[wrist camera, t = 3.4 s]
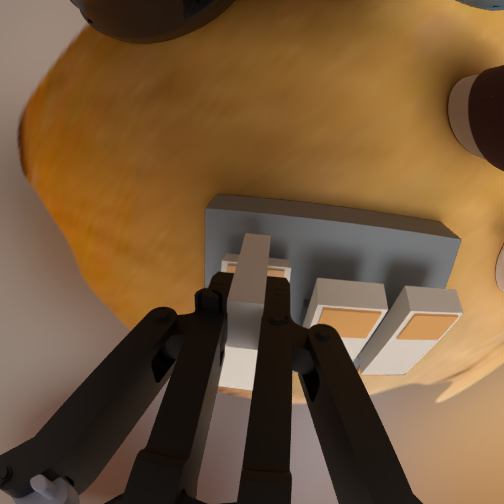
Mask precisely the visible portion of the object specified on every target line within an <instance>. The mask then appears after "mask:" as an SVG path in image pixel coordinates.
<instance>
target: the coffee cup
mask: <svg viewBox="0 0 504 504" xmlns="http://www.w3.org/2000/svg"><path fill="white" fill-rule="evenodd" d="M448 116H449V121H450V125H451V128H452V130H453V133H454V134H455V136H456V138H457V140H458V141H459V142H460V144H461V145H462V146H463V147H464V148H465V149H466V150H468V151H469V152H471V153H472V154H475V155H477V156H479V157H481V158H483V159H486V160H487V161H488V162H489V163H491V164H492V165H493V166H495V167H496V168H498V169H500V170H502V171H504V65H503V66H499V67H494V68H490V69H487V70H485V71H483V72H482V73H480V74H476V75H472V76H468V77H465V78H463V79H461V80H460V81H458V82H457V83H456V85H455V86H454V87H453V89H452V91H451V93H450V97H449V102H448Z"/></svg>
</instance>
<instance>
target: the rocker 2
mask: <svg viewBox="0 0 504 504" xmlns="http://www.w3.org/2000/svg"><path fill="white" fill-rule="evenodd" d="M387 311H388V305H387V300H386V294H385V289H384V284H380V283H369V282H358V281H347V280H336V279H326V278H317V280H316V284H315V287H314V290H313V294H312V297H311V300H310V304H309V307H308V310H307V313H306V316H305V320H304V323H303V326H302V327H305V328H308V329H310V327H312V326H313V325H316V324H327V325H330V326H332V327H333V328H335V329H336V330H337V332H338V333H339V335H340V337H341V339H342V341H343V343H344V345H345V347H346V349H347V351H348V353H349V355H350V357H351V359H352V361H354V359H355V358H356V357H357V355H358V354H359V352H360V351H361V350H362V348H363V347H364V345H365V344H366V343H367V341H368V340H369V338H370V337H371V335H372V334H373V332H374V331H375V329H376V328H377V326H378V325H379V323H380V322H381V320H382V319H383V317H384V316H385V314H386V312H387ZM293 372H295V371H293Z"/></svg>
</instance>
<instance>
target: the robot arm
mask: <svg viewBox="0 0 504 504" xmlns="http://www.w3.org/2000/svg"><path fill="white" fill-rule="evenodd" d="M70 1H71V2H72V3H73V4H74V5H75V6H76V7H78V8H79V9H80V12H81V14H82V15H83V17H84V18H85V20H86V21H87V22H88V23H89V24H90V25H91V26H92V27H93V28H95V29H96V30H97V31H99V32H101V33H103V34H105V35H107V36H110V37H113V38H116V39H119V40H122V41H125V42H130V43H155V42H161V41H166V40H170V39H174V38H177V37H180V36H182V35H185V34H188V33H190V32H192V31H194V30H196V29H198V28H200V27H202V26H204V25H205V24H207V23H209V22H210V21H212V20H213V19H215V18H216V17H217V16H219V15H220V14H221V13H222V12H224V11H225V10H226V9H227V8H228V7H229V6H230V5H231V4H232V3H233V2H234V1H235V0H70ZM456 1H458V2H460V3H463V4H466V5H469V6H471V7H475V8H480V9H484V10H491V11H496V10H504V0H456ZM270 239H271V236H270V235H260V234H250V233H245V237H244V241H243V244H242V248H241V251H240V255H239V259H238V262H237V266H236V269H235V273H229V272H219V271H218V272H217V273H216V274H214V275H213V276H212V278H211V281H210V284H209V286H208V288H204V289H201V290H199V291H197V292H196V294H195V312H193V313H190V314H184V315H177V313H176V312H175V310H173V309H171V308H169V307H158V308H155V309H153V310H151V311H150V312H149V313H148V314H147V315H146V316H145V317H144V318H143V319H142V320H141V321H140V322H139V323H138V324H137V325H136V326H135V327H134V328H133V330H132V331H131V332H130V333H129V334H128V335H127V336H126V337H125V338H124V339H123V340H122V341H121V342H120V343H119V344H118V345H117V346H116V347H115V348H114V350H113V351H112V352H111V353H110V354H109V355H108V356H107V357H106V358H105V359H104V360H103V361H102V363H100V365H99V366H98V367H97V368H96V369H95V370H94V371H93V372H92V373H91V374H90V375H89V376H88V378H87V379H86V380H85V381H84V382H83V383H82V384H81V385H80V386H79V387H78V388H77V389H76V391H75V392H74V393H73V394H72V395H71V396H70V397H69V398H68V399H67V400H66V402H65V403H64V404H63V405H62V406H61V407H60V408H59V409H58V410H57V412H56V413H55V414H54V415H53V416H52V417H51V418H50V420H49V421H48V422H47V423H46V424H45V425H44V426H43V427H42V429H41V430H40V431H39V432H38V433H37V434H36V436H35V437H33V438H31V439H30V440H28V441H26V442H24V443H22V444H21V445H19V446H17V447H15V448H13V449H11V450H9V451H8V452H6V453H4V454H2V455H0V489H1V490H2V491H4V492H5V493H7V494H8V495H10V496H11V497H12V498H13V500H14V501H15V503H16V504H80V500H79V496H78V495H80V494H81V493H82V492H84V491H85V490H86V489H87V488H88V487H89V486H90V485H91V484H92V483H93V482H94V480H95V479H96V478H97V477H98V476H99V474H100V473H101V471H102V470H103V469H104V467H105V466H106V465H107V463H108V462H109V460H110V459H111V458H112V456H113V455H114V454H115V452H116V451H117V449H118V448H119V447H120V445H121V444H122V443H123V441H124V440H125V438H126V437H127V436H128V434H129V433H130V432H131V430H132V429H133V427H134V426H135V425H136V423H137V422H138V421H139V419H140V418H141V416H142V415H143V414H144V412H145V411H146V409H147V408H148V406H149V405H150V404H151V403H152V401H153V400H154V398H155V397H156V395H157V394H158V393H159V391H160V390H161V389H162V387H163V386H164V384H165V383H166V382H167V380H168V379H169V377H170V376H171V377H170V380H169V383H168V386H167V388H166V391H165V394H164V397H163V400H162V403H161V405H160V409H159V411H158V414H157V417H156V420H155V423H154V426H153V428H152V431H151V435H150V437H149V440H148V443H147V446H146V447H145V449H142V450H140V452H139V453H138V454H137V457H136V459H135V462H134V465H133V468H132V470H131V473H130V477H129V480H128V483H127V486H126V489H125V492H124V493H123V494H121V495H118V496H117V497H115V498H113V499H112V500H110V501H108V502H106V503H104V504H207V503H204V502H201V501H199V500H197V499H196V496H197V482H198V477H199V473H200V468H201V463H202V459H203V454H204V449H205V445H206V440H207V435H208V430H209V426H210V421H211V417H212V412H213V407H214V403H215V398H216V394H217V389H218V385H219V380H220V375H221V371H222V366H223V362H224V357H225V345H226V346H227V347H235V348H244V349H252V350H258V352H257V360H256V368H255V376H254V384H253V391H252V399H251V407H250V415H249V422H248V429H247V437H246V444H245V451H244V459H243V465H242V471H241V478H240V485H239V492H238V499H237V502H234V503H223V504H291V489H292V488H291V487H292V475H291V472H290V444H291V442H290V441H291V412H292V371H295V372H298V376H299V379H300V383H301V386H302V389H303V392H304V395H305V398H306V401H307V404H308V408H309V410H310V414H311V417H312V420H313V423H314V427H315V430H316V433H317V436H318V439H319V442H320V445H321V449H322V451H323V455H324V458H325V461H326V465H327V468H328V471H329V474H330V477H331V480H332V484H333V487H334V490H335V493H336V496H337V500H338V503H339V504H423V503H422V502H421V501H420V500H419V499H418V498H417V497H416V496H415V495H414V494H413V493H412V490H411V488H410V485H409V483H408V481H407V478H406V476H405V474H404V471H403V469H402V467H401V464H400V462H399V460H398V458H397V455H396V453H395V451H394V449H393V446H392V444H391V442H390V440H389V437H388V435H387V433H386V431H385V429H384V426H383V425H382V422H381V420H380V418H379V416H378V413H377V412H376V409H375V408H374V405H373V403H372V401H371V399H370V396H369V394H368V392H367V390H366V388H365V386H364V384H363V382H362V380H361V378H360V376H359V374H358V371H357V369H356V367H355V365H354V363H353V361H352V359H351V357H350V355H349V353H348V351H347V349H346V347H345V345H344V343H343V341H342V339H341V337H340V335H339V333H338V332H337V330H336V329H335V328H333V327H332V326H330V325H327V324H316V325H313V326H312V327H310V329H308V328H305V327H302V326H300V325H298V324H296V323H295V322H294V321H293V320H292V318H291V314H290V283H289V281H288V280H287V278H284V277H274V276H267V270H268V260H269V250H270Z"/></svg>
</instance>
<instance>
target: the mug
mask: <svg viewBox="0 0 504 504" xmlns="http://www.w3.org/2000/svg"><path fill="white" fill-rule="evenodd" d="M495 275H496V282H497V285H498V287H499V288H500V290H501V291H503V292H504V246H503V247H502V249H501V252H500V254H499V257H498V260H497V264H496V272H495Z"/></svg>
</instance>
